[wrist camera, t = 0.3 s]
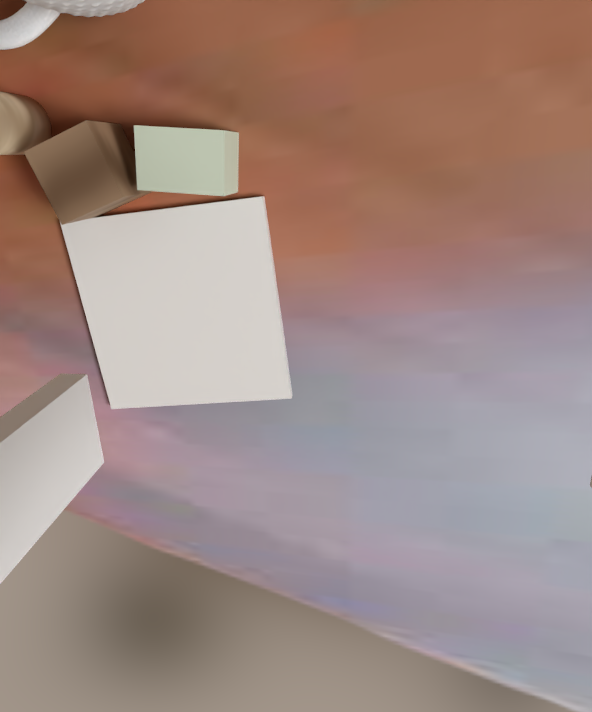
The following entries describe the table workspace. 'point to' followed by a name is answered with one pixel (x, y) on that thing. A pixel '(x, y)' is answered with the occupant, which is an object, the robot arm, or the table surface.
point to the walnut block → (86, 170)
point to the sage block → (186, 160)
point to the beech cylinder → (21, 124)
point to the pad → (182, 304)
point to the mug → (52, 17)
